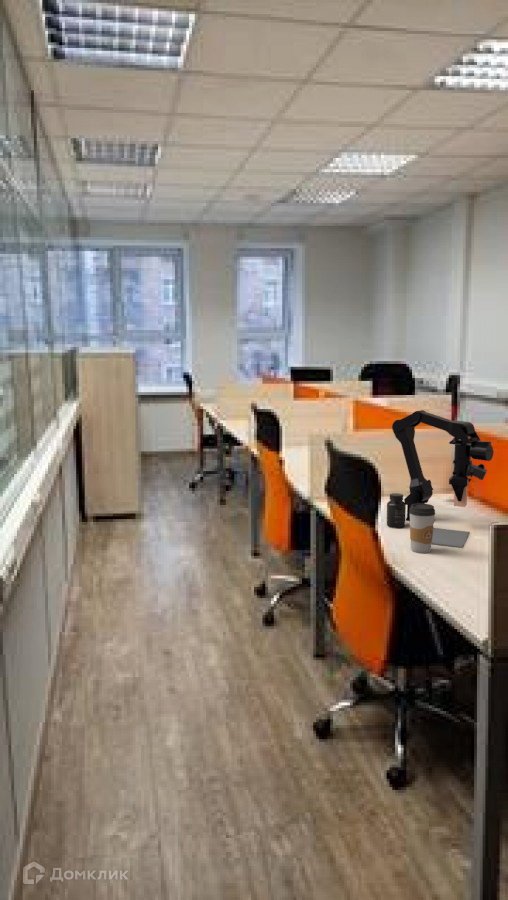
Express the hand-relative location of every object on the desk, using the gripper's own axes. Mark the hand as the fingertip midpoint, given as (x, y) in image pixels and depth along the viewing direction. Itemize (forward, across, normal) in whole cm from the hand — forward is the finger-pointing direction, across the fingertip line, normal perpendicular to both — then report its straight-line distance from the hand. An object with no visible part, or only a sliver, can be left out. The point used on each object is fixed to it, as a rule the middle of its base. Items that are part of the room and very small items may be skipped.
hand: (460, 499), depth 245 cm
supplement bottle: (+11, -5, +22) cm, 25 cm away
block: (+2, 0, 0) cm, 2 cm away
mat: (+11, -13, +2) cm, 17 cm away
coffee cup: (+11, -30, +8) cm, 33 cm away
